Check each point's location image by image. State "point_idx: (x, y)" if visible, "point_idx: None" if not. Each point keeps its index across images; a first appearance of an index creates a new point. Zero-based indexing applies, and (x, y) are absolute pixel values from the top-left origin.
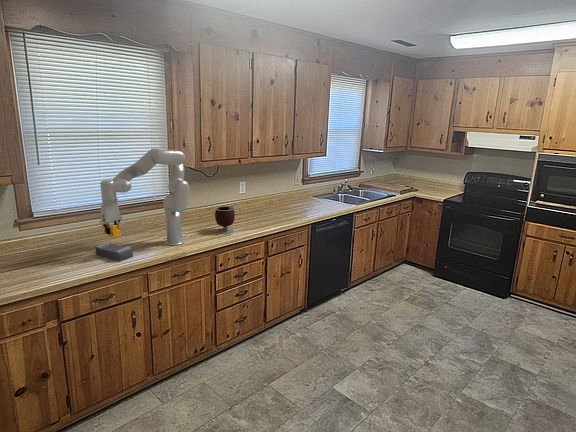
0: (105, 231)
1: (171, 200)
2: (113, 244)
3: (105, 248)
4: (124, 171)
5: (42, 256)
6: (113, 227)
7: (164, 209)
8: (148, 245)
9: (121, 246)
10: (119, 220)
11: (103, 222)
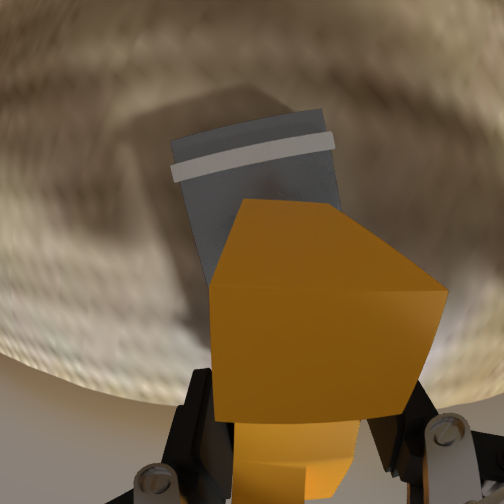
0: (175, 415)
1: None
2: (330, 191)
3: (219, 244)
4: None
5: (20, 10)
6: None
7: None
8: (499, 237)
9: None
10: (486, 494)
11: (211, 334)
